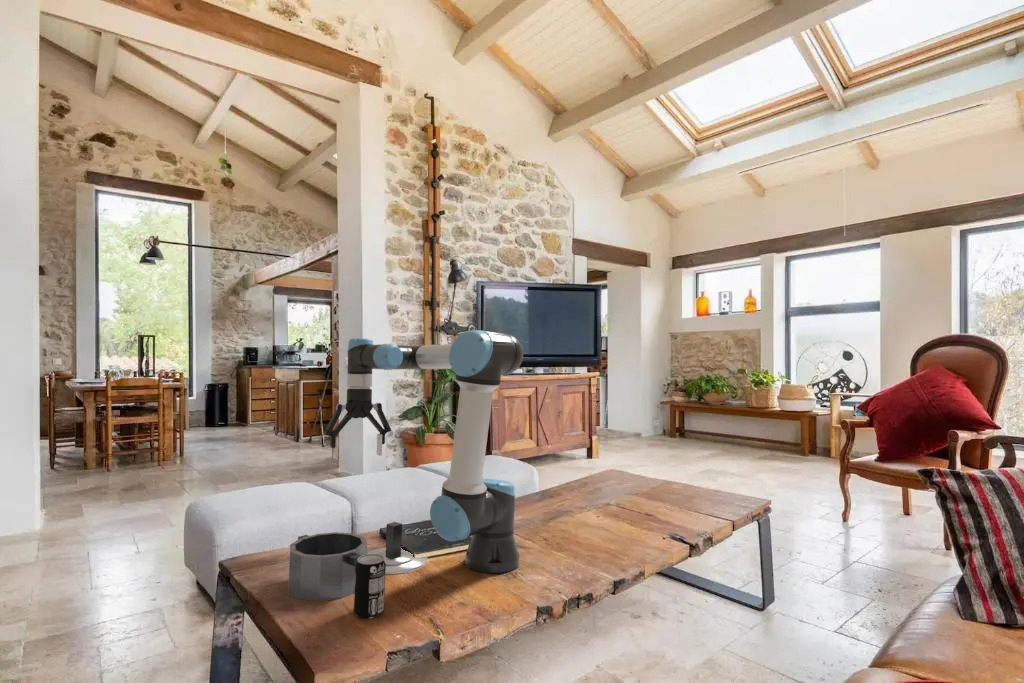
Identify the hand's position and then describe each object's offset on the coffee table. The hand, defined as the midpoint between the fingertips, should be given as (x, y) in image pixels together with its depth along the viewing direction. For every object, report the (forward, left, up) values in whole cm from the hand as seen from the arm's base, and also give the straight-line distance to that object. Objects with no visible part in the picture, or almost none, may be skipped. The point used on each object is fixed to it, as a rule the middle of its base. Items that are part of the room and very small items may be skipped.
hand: (357, 456), depth 168 cm
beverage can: (-41, +27, -26) cm, 56 cm away
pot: (-21, +24, -26) cm, 41 cm away
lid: (-21, +3, -26) cm, 34 cm away
